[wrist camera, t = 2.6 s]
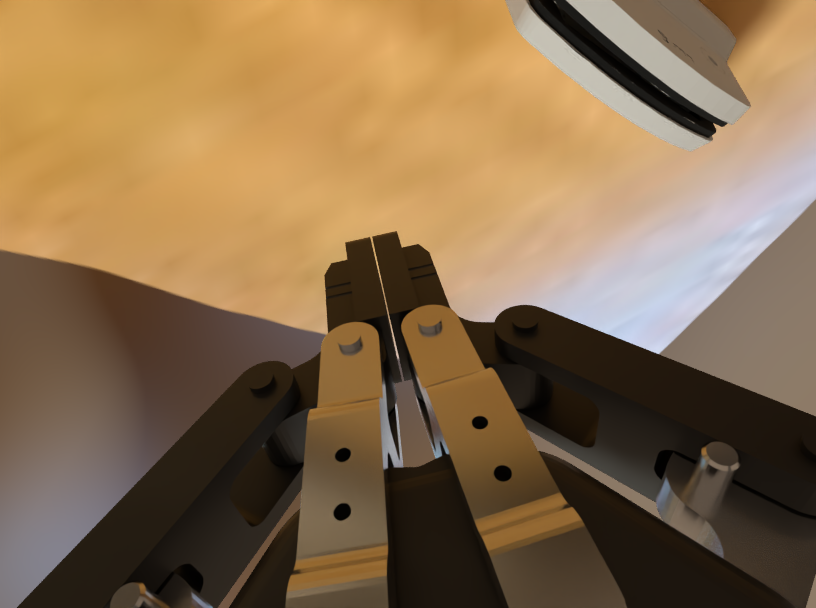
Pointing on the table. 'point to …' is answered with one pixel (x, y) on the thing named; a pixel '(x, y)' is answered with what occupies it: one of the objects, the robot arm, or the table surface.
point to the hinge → (642, 60)
